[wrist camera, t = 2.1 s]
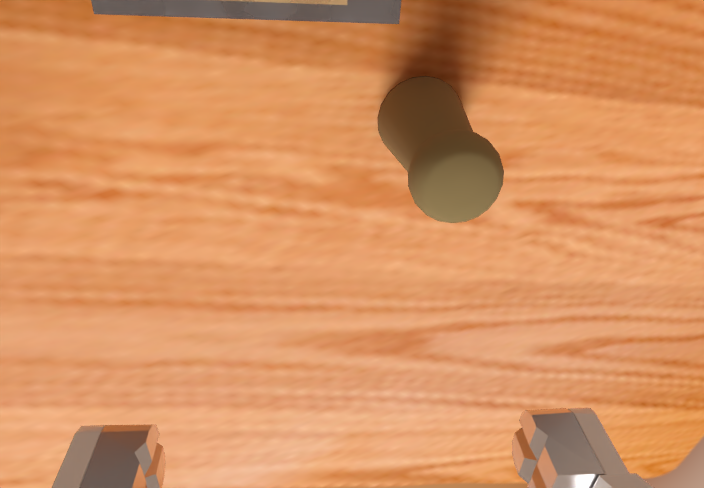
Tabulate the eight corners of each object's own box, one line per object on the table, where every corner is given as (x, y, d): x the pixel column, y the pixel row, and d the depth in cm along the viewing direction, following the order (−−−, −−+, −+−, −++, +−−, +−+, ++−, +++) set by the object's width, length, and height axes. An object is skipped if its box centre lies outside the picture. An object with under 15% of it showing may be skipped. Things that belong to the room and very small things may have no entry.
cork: (420, 174, 39) (461, 257, 29) (359, 126, 36) (383, 201, 27) (479, 112, 36) (543, 182, 27) (419, 57, 34) (467, 112, 25)
